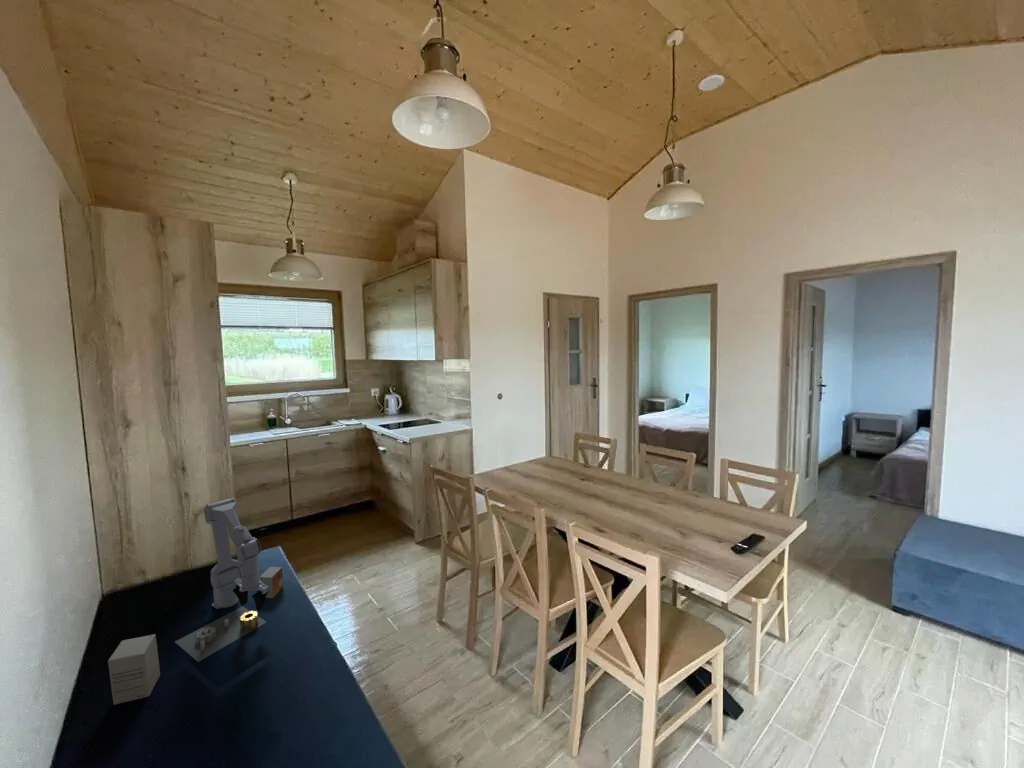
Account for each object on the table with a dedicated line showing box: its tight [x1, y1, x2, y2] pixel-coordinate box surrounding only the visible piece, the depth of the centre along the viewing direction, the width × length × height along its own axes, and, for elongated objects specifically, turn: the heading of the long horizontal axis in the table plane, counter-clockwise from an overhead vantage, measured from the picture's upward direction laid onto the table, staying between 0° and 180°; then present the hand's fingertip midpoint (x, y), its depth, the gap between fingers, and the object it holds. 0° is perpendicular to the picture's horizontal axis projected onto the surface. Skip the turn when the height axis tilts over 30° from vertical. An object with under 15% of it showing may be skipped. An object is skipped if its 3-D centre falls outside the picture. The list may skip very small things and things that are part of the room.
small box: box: [259, 566, 284, 599], centre depth 180 cm, size 8×6×10 cm
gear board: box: [174, 605, 267, 663], centre depth 157 cm, size 17×23×4 cm
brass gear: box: [240, 610, 259, 631], centre depth 161 cm, size 6×6×4 cm
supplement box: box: [107, 633, 161, 705], centre depth 133 cm, size 9×9×15 cm
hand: (252, 606), depth 160 cm, fingers open, 7 cm apart
